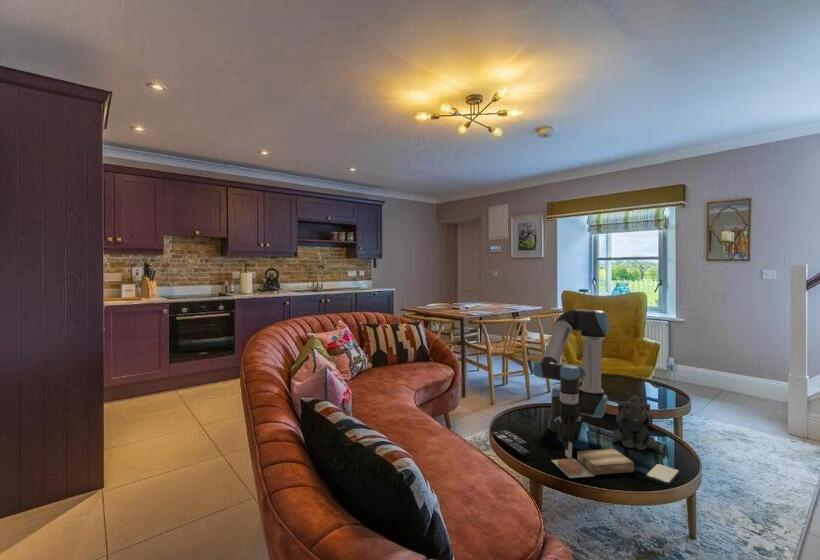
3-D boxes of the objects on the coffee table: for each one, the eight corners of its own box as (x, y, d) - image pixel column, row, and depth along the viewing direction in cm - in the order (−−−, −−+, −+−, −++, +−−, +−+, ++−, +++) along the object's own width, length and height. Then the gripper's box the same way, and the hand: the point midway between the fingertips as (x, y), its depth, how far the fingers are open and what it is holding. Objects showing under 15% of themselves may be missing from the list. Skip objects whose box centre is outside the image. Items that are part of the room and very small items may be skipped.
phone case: (656, 466, 174) (644, 478, 163) (656, 462, 174) (644, 474, 163) (680, 474, 168) (669, 487, 157) (680, 470, 168) (669, 483, 157)
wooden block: (577, 460, 179) (577, 451, 178) (613, 457, 181) (613, 448, 181) (594, 474, 166) (594, 465, 166) (633, 471, 168) (634, 462, 168)
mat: (551, 460, 178) (551, 460, 178) (574, 459, 179) (574, 458, 179) (569, 478, 163) (569, 477, 163) (594, 476, 165) (594, 475, 165)
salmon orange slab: (570, 458, 175) (570, 462, 175) (557, 459, 174) (557, 463, 174) (582, 468, 166) (582, 473, 166) (569, 469, 165) (569, 474, 165)
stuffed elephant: (634, 455, 183) (635, 397, 183) (603, 436, 204) (604, 384, 203) (669, 451, 188) (670, 394, 187) (635, 433, 208) (636, 382, 207)
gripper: (559, 405, 165) (558, 461, 166) (588, 404, 167) (587, 459, 168) (550, 399, 173) (549, 453, 174) (578, 398, 175) (577, 451, 175)
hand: (568, 456), depth 171 cm, fingers closed
